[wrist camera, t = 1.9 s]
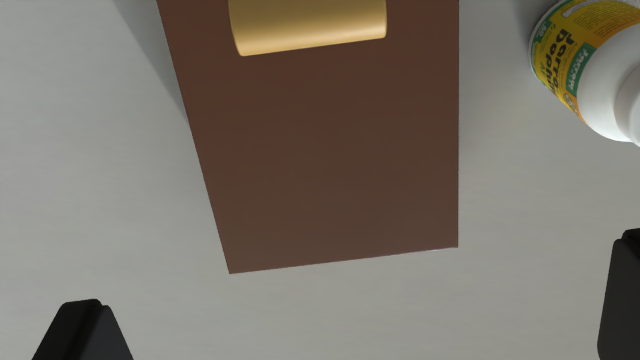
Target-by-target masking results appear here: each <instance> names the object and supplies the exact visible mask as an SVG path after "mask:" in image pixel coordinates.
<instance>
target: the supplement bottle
mask: <svg viewBox="0 0 640 360" xmlns="http://www.w3.org/2000/svg"><path fill="white" fill-rule="evenodd" d="M528 57H529V63H530V67H531V69H532V71H533V73H534V74H535V76H536V77H537V78H538V80H539V81H540V82H542V84H543V85H544V86H545V87H546V88H548V89H549V90H550V91H551V92H552V93H553V94H554V95H555V96H556V97H558V98H559V99H560V100H561V101H562V102H563V103H564V104H565V105H566V106H567V107H568V108H569V109H570V110H571V111H572V112H574V113H575V114H576V115H577V116H578V117H579V118H580V119H581V120H583V121H584V122H585V123H586V124H587V125H588V126H589V127H590V128H592V129H593V130H594V131H596V132H597V133H599V134H600V135H602V136H604V137H607V138H609V139H613V140H617V141H626V142H631V141H632V142H634V143H635V144H636V145H637V146H639V147H640V9H638V8H636V7H633V6H631V5H629V4H626V3H624V2H622V1H619V0H561V1H560V2H558V3H557V4H555V5H554V6H553V7H551V8H550V9H549V10H548V11H547V12H546V13H545V14H544V15H543V17H542V18H541V19H540V21H539V22H538V23H537V25H536V27H535V29H534V30H533V32H532V34H531V37H530V41H529V47H528Z"/></svg>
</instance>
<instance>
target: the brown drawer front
mask: <svg viewBox="0 0 640 360" xmlns="http://www.w3.org/2000/svg"><path fill="white" fill-rule="evenodd" d="M156 1H157V5H158V8H159V12H160V16H161V20H162V23H163V27H164V31H165V35H166V38H167V42H168V46H169V50H170V53H171V57H172V61H173V65H174V68H175V72H176V76H177V80H178V83H179V87H180V91H181V94H182V98H183V102H184V106H185V109H186V113H187V117H188V121H189V124H190V128H191V132H192V136H193V139H194V143H195V147H196V151H197V154H198V158H199V162H200V166H201V169H202V173H203V177H204V181H205V184H206V188H207V192H208V196H209V199H210V203H211V207H212V211H213V214H214V218H215V222H216V226H217V229H218V233H219V237H220V241H221V244H222V248H223V252H224V256H225V259H226V263H227V267H228V270H229V274H235V273H244V272H253V271H261V270H270V269H278V268H287V267H296V266H304V265H313V264H321V263H330V262H338V261H347V260H356V259H364V258H373V257H381V256H390V255H398V254H407V253H416V252H424V251H433V250H441V249H450V248H457V247H458V130H459V0H156Z"/></svg>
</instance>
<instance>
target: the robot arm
mask: <svg viewBox="0 0 640 360" xmlns="http://www.w3.org/2000/svg"><path fill="white" fill-rule="evenodd" d="M597 349H598V354H599V358H600V360H640V228H636V229H629V230H626V231H625V232H624V233H623V235H622V238H621V239H617V240H615V242H614V244H613V249H612V255H611V261H610V267H609V274H608V280H607V286H606V292H605V298H604V304H603V311H602V317H601V323H600V329H599V335H598V341H597ZM32 360H134V359H133V357H132V355H131V353H130V350H129V348H128V346H127V344H126V341H125V339H124V337H123V335H122V332H121V330H120V328H119V326H118V323H117V321H116V319H115V317H114V314H113V312H112V310H111V308H110V307H109V306H108V305H103V306H102V304H101V302H100V301H99V300H97V299H89V300H81V301H73V302H66V303H64V304H62V306H61V307H60V308H59V310H58V312H57V314H56V316H55V317H54V319H53V321H52V323H51V325H50V327H49V329H48V330H47V332H46V334H45V336H44V338H43V340H42V342H41V343H40V345H39V347H38V349H37V351H36V353H35V354H34V356H33V358H32Z"/></svg>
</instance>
